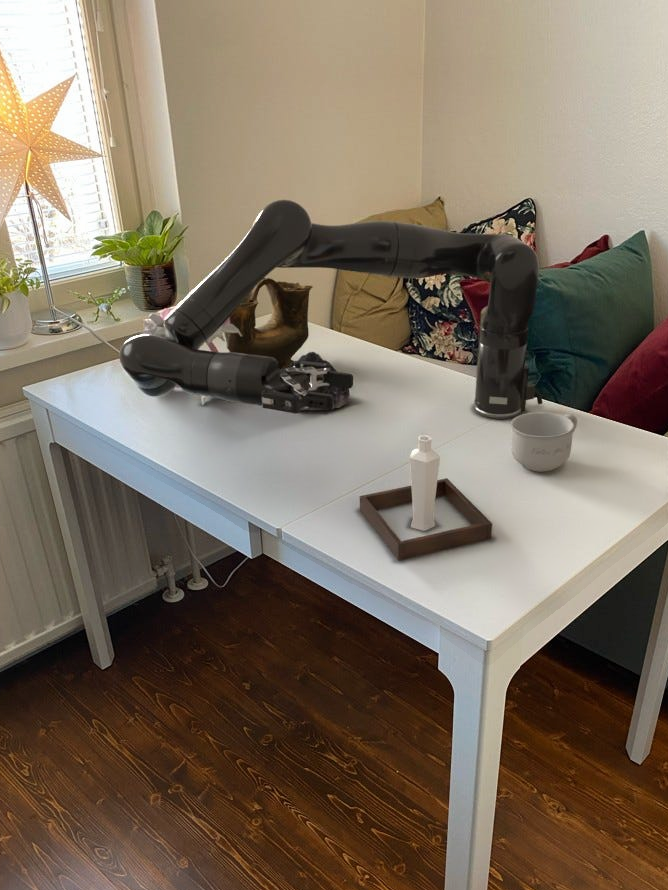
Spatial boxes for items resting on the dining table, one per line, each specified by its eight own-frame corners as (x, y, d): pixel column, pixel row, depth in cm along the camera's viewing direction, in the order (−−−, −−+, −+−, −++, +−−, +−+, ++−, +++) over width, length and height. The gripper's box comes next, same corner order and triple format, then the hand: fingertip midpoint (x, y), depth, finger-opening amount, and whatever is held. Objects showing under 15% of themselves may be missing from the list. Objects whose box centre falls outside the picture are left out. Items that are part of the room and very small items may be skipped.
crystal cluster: (333, 422, 171) (337, 373, 166) (270, 407, 174) (272, 359, 169) (357, 401, 183) (361, 355, 178) (297, 387, 186) (300, 341, 181)
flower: (232, 354, 196) (170, 258, 180) (287, 374, 180) (224, 271, 164) (165, 412, 190) (95, 319, 174) (215, 438, 174) (142, 338, 158)
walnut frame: (446, 492, 147) (447, 477, 145) (491, 538, 135) (492, 523, 133) (359, 510, 142) (359, 495, 140) (398, 560, 129) (398, 544, 128)
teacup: (531, 483, 149) (535, 441, 145) (495, 457, 158) (499, 416, 153) (595, 466, 155) (602, 424, 151) (558, 441, 163) (563, 402, 159)
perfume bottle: (435, 533, 136) (438, 446, 128) (407, 530, 137) (408, 443, 128) (439, 518, 140) (443, 433, 132) (412, 515, 140) (414, 430, 132)
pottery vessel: (239, 391, 182) (230, 296, 172) (207, 377, 189) (196, 285, 178) (325, 358, 198) (322, 270, 187) (293, 347, 204) (288, 261, 194)
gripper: (221, 371, 127) (325, 385, 123) (261, 340, 139) (358, 351, 135) (225, 419, 131) (327, 434, 128) (264, 384, 143) (358, 396, 139)
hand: (343, 391), depth 131 cm, fingers open, 8 cm apart
